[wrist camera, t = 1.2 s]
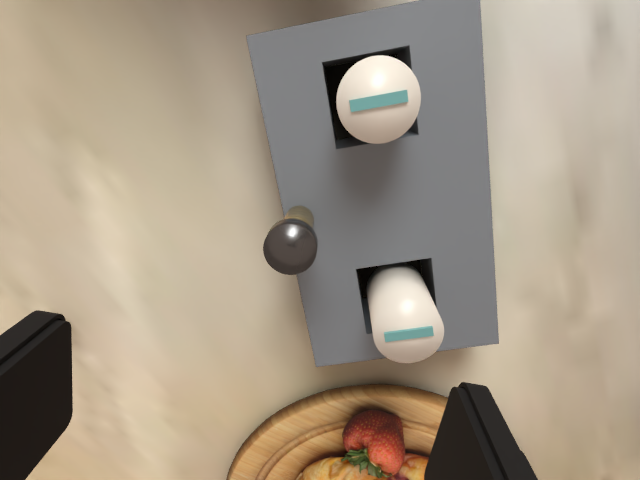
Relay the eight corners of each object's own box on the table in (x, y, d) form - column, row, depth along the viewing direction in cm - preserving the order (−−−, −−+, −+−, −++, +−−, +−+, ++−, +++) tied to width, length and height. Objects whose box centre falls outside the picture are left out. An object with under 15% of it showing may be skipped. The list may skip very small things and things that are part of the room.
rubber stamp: (316, 195, 30) (311, 220, 24) (324, 236, 30) (321, 270, 25) (273, 202, 30) (258, 228, 24) (282, 242, 31) (269, 278, 25)
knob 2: (421, 257, 32) (441, 298, 26) (427, 309, 34) (447, 360, 27) (362, 266, 33) (368, 308, 26) (370, 317, 34) (378, 369, 28)
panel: (453, 7, 31) (479, -12, 25) (474, 306, 38) (498, 343, 33) (262, 45, 32) (246, 35, 26) (319, 327, 40) (316, 366, 34)
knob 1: (399, 57, 28) (416, 47, 22) (406, 126, 29) (425, 136, 23) (331, 70, 28) (329, 64, 22) (342, 138, 30) (343, 150, 23)
